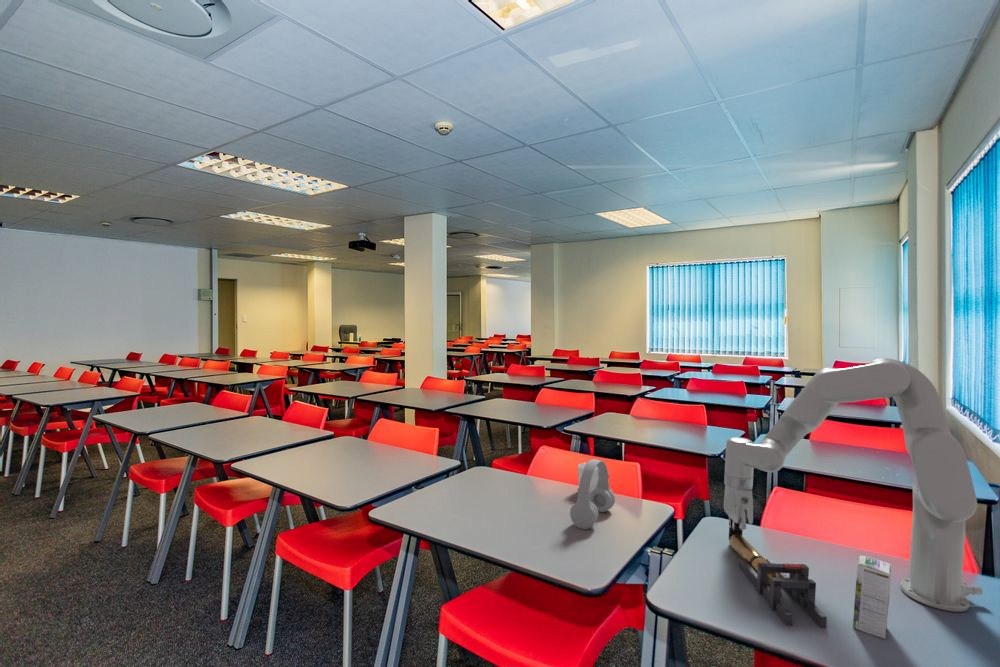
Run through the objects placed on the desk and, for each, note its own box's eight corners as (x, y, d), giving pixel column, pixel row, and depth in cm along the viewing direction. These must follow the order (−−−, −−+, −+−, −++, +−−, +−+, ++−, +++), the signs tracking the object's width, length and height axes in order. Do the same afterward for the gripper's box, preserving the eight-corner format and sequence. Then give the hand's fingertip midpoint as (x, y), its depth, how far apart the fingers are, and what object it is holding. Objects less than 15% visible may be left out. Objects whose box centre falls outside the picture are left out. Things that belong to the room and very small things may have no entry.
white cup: (573, 489, 185) (574, 463, 184) (592, 487, 187) (593, 462, 187) (583, 497, 177) (584, 470, 177) (602, 495, 180) (603, 468, 179)
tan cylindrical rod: (730, 549, 141) (728, 535, 141) (745, 547, 140) (743, 532, 140) (764, 589, 121) (761, 572, 121) (782, 586, 121) (779, 569, 120)
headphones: (593, 533, 149) (595, 471, 148) (568, 526, 153) (570, 466, 152) (615, 511, 166) (617, 455, 165) (592, 505, 170) (593, 451, 169)
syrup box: (854, 616, 110) (857, 553, 109) (887, 627, 106) (891, 562, 106) (852, 628, 106) (856, 563, 105) (887, 640, 102) (891, 573, 101)
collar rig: (771, 567, 131) (773, 534, 130) (828, 627, 106) (830, 587, 105) (736, 565, 131) (738, 533, 131) (784, 625, 106) (786, 585, 106)
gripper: (763, 490, 134) (759, 555, 135) (741, 472, 149) (737, 531, 150) (735, 489, 135) (732, 553, 136) (715, 471, 150) (712, 529, 151)
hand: (735, 541), depth 143 cm, fingers closed
